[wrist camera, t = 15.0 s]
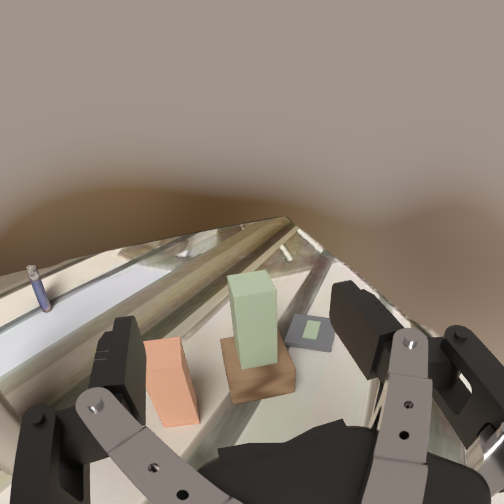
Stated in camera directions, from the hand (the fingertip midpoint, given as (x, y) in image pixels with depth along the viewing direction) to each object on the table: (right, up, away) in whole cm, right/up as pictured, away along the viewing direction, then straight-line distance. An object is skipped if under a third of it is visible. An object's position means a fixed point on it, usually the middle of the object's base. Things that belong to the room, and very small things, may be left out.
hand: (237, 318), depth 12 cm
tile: (+11, -12, +42) cm, 45 cm away
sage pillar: (+1, -12, +32) cm, 34 cm away
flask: (-50, -10, +53) cm, 74 cm away
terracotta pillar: (-9, -20, +28) cm, 36 cm away
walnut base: (+1, -16, +34) cm, 38 cm away
